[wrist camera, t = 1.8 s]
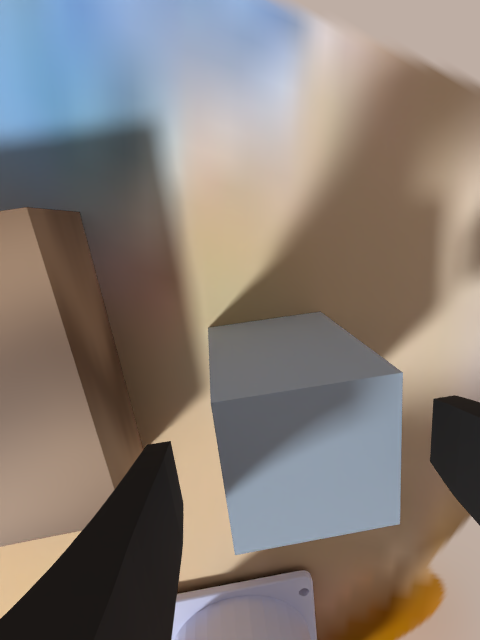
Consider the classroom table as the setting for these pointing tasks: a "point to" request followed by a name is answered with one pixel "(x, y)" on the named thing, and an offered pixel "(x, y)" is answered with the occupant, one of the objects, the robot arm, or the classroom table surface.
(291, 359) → the grey block
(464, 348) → the classroom table surface
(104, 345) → the walnut base
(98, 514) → the robot arm
